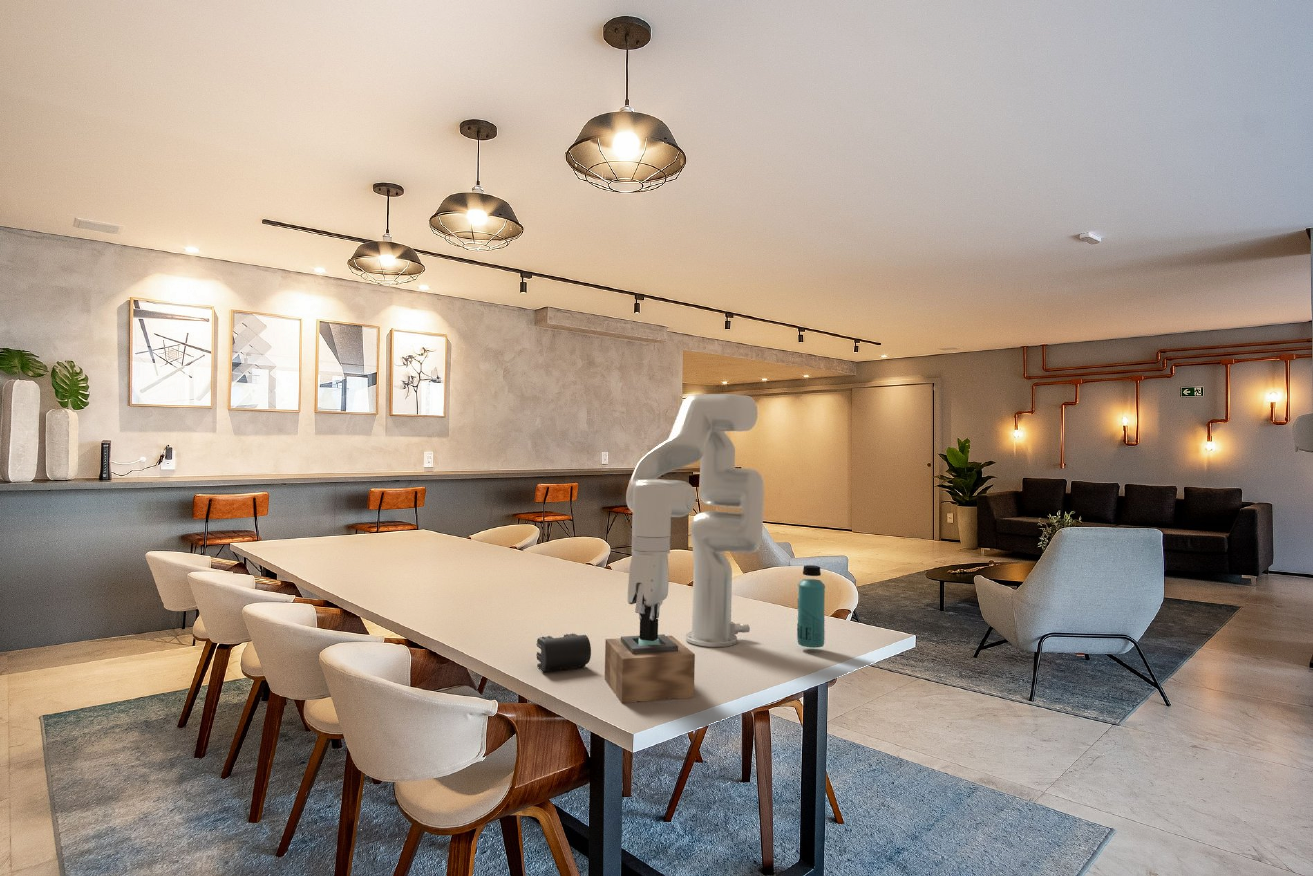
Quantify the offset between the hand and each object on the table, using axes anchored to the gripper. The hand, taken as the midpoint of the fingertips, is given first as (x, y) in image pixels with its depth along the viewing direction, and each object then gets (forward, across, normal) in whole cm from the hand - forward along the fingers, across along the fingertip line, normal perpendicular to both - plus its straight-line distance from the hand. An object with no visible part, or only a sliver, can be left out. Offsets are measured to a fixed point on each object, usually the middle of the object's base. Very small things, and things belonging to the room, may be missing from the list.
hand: (648, 639), depth 137 cm
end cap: (+10, -3, -21) cm, 23 cm away
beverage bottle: (+10, -42, +24) cm, 49 cm away
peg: (+9, 0, 0) cm, 9 cm away
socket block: (+9, 0, 0) cm, 9 cm away
